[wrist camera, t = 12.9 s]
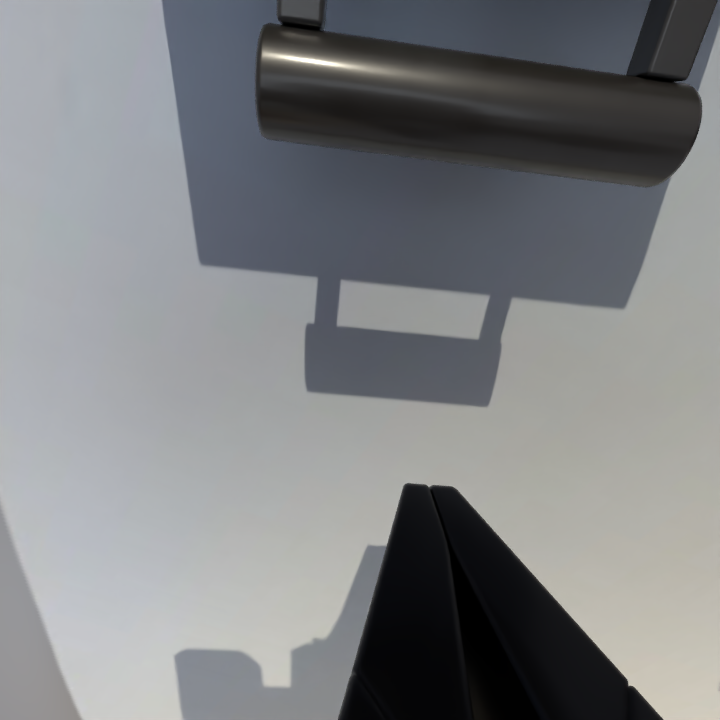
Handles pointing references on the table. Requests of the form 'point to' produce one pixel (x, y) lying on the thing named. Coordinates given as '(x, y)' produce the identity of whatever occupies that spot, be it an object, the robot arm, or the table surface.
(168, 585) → the table surface
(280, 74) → the drawer
